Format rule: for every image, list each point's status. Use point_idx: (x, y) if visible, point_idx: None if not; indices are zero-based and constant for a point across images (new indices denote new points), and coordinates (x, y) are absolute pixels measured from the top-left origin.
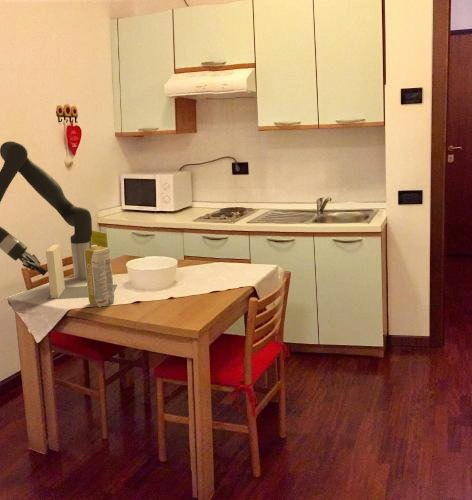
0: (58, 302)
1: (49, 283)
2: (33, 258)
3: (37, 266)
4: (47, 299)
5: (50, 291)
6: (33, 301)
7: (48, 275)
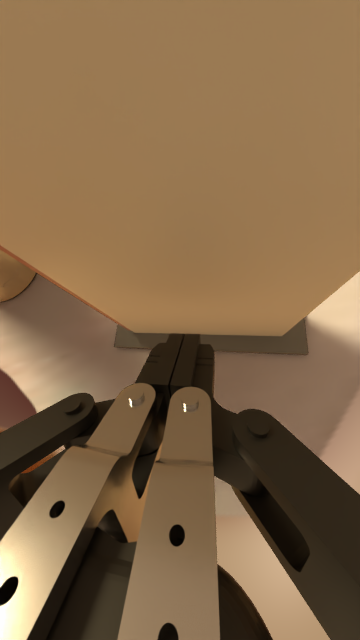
0: (342, 293)
1: (311, 310)
2: (69, 559)
3: (210, 414)
4: (306, 348)
5: (291, 326)
6: (315, 421)
7: (341, 285)
